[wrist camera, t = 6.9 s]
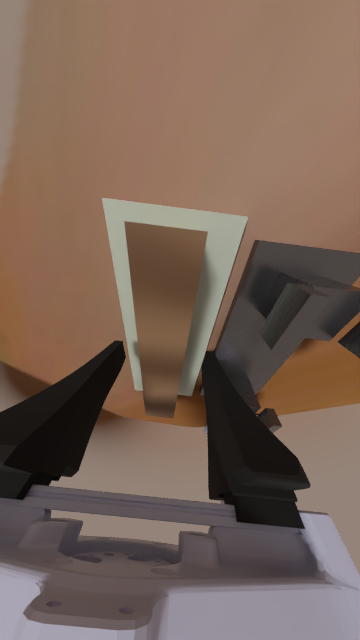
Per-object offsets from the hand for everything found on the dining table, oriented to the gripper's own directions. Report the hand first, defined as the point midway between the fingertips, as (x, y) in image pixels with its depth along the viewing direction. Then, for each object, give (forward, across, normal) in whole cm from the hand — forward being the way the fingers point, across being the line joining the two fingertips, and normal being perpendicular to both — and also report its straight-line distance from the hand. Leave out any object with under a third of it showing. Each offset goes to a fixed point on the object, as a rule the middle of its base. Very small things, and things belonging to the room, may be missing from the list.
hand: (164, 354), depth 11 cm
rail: (+2, 0, 0) cm, 2 cm away
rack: (+2, -8, 0) cm, 9 cm away
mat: (+2, 0, 0) cm, 2 cm away
